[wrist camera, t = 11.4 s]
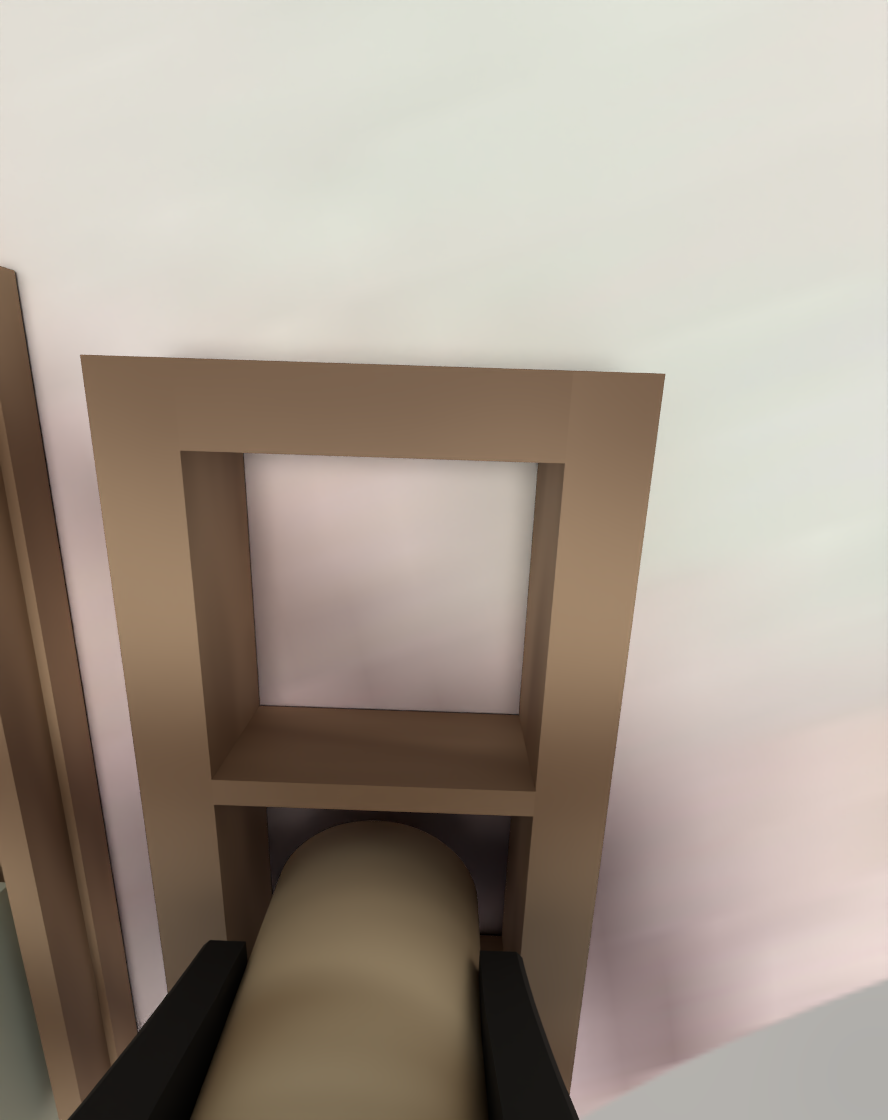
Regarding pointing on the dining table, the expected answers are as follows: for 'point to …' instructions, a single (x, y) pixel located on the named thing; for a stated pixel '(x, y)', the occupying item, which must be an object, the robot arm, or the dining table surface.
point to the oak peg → (358, 988)
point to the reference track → (50, 766)
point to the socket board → (354, 734)
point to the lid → (19, 1034)
